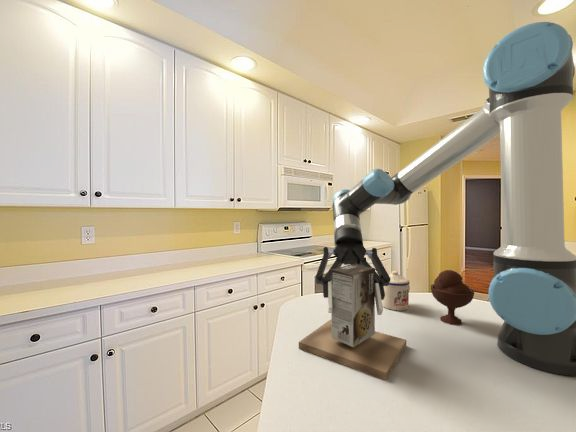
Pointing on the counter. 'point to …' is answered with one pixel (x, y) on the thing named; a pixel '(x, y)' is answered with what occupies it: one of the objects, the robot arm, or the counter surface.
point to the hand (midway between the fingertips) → (355, 311)
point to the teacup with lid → (396, 293)
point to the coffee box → (353, 304)
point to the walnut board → (357, 351)
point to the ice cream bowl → (451, 294)
